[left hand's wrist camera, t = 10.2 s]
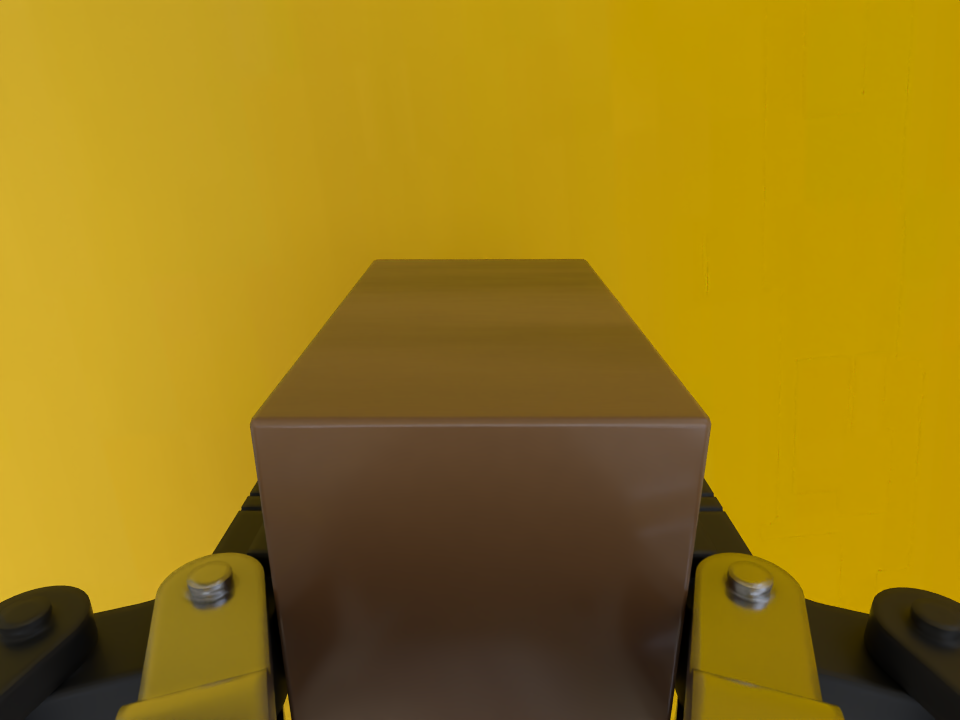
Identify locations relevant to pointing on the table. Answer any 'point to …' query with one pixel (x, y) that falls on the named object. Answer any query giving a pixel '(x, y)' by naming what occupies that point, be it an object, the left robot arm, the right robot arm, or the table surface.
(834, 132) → the table surface
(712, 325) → the table surface
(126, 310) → the table surface
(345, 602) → the bar
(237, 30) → the table surface
